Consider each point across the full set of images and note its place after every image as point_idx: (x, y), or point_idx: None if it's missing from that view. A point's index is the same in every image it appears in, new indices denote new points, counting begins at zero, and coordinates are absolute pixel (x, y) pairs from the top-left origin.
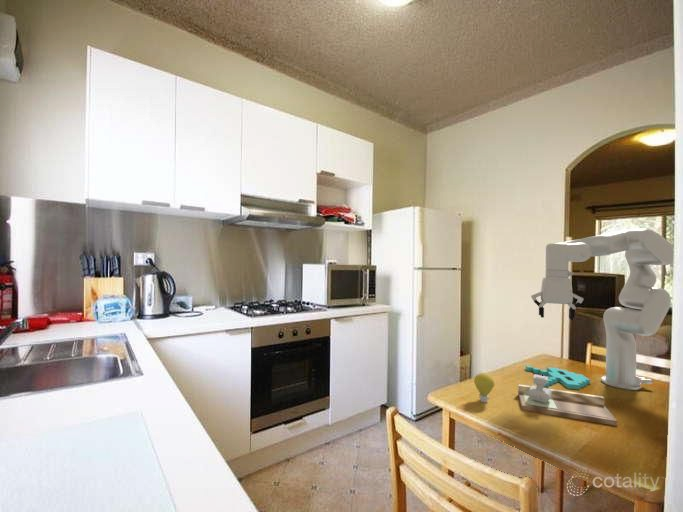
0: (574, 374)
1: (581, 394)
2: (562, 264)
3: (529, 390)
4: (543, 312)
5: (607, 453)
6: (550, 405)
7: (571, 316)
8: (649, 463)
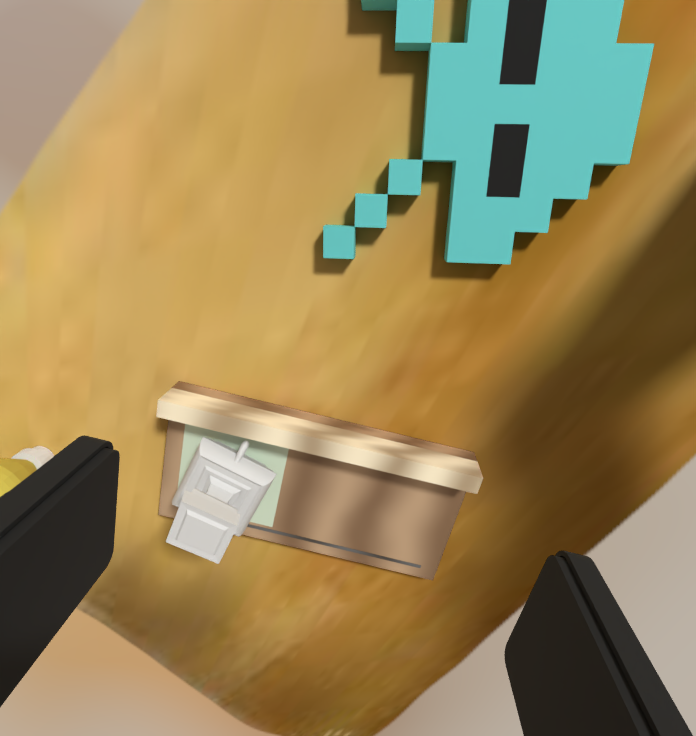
0: (595, 61)
1: (399, 471)
2: None
3: (174, 505)
4: (46, 633)
5: (312, 683)
6: (258, 506)
7: (527, 705)
8: (385, 706)
